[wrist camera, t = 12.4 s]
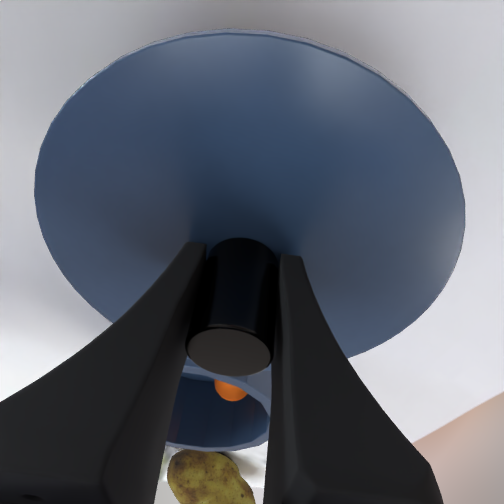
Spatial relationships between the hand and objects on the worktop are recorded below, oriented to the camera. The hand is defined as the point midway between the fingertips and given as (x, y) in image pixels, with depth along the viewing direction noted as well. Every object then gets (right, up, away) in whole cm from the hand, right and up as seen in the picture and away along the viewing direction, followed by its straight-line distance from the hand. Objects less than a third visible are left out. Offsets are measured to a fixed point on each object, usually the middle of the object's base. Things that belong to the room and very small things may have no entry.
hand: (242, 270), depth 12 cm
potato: (-4, -26, +35) cm, 44 cm away
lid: (0, +1, +1) cm, 1 cm away
